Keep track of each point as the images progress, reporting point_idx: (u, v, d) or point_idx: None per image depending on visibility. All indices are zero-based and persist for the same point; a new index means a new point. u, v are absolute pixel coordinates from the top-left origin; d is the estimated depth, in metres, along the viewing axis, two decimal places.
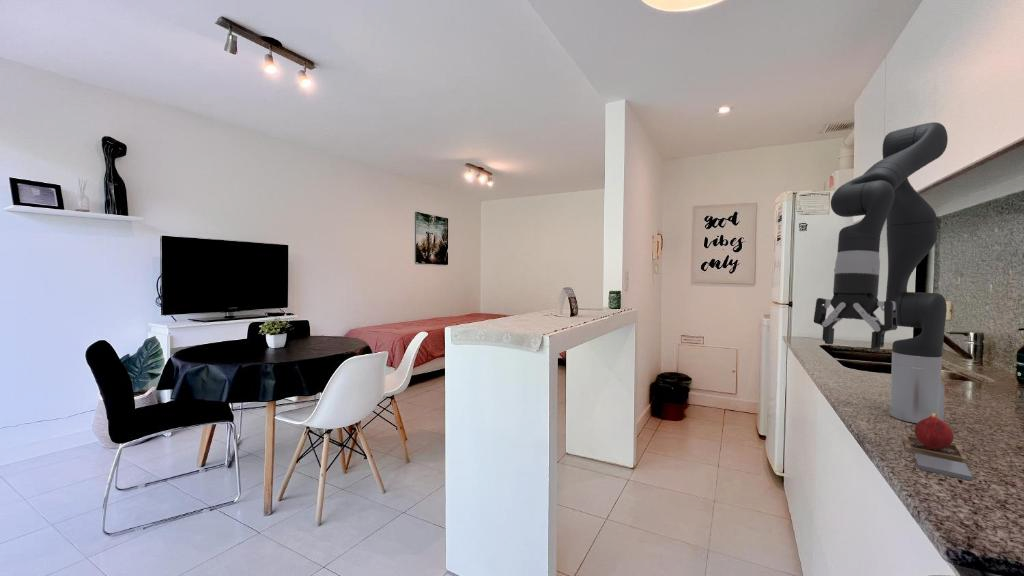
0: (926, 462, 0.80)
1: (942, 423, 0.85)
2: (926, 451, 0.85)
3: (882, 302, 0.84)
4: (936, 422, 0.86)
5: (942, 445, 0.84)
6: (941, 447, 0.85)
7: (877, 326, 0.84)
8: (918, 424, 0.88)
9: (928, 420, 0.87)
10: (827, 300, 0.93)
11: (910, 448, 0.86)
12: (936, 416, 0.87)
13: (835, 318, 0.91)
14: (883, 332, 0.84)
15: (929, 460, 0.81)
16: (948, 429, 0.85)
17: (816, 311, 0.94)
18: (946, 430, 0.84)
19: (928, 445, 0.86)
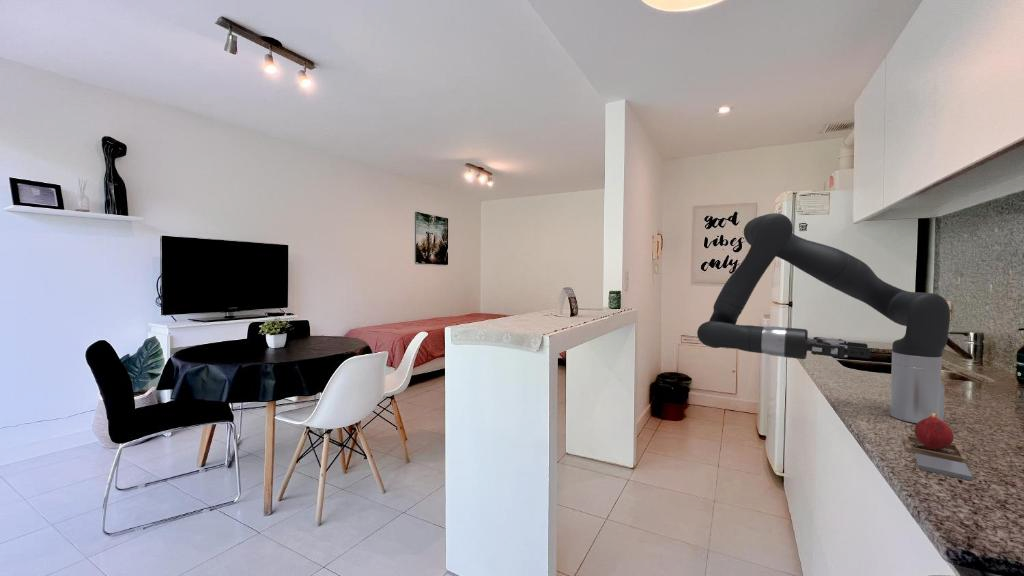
0: (926, 462, 0.80)
1: (942, 423, 0.85)
2: (926, 451, 0.85)
3: None
4: (936, 422, 0.86)
5: (942, 445, 0.84)
6: (941, 447, 0.85)
7: None
8: (918, 424, 0.88)
9: (928, 420, 0.87)
10: None
11: (910, 448, 0.86)
12: (936, 416, 0.87)
13: None
14: (848, 352, 0.91)
15: (929, 460, 0.81)
16: (948, 429, 0.85)
17: None
18: (946, 430, 0.84)
19: (928, 445, 0.86)
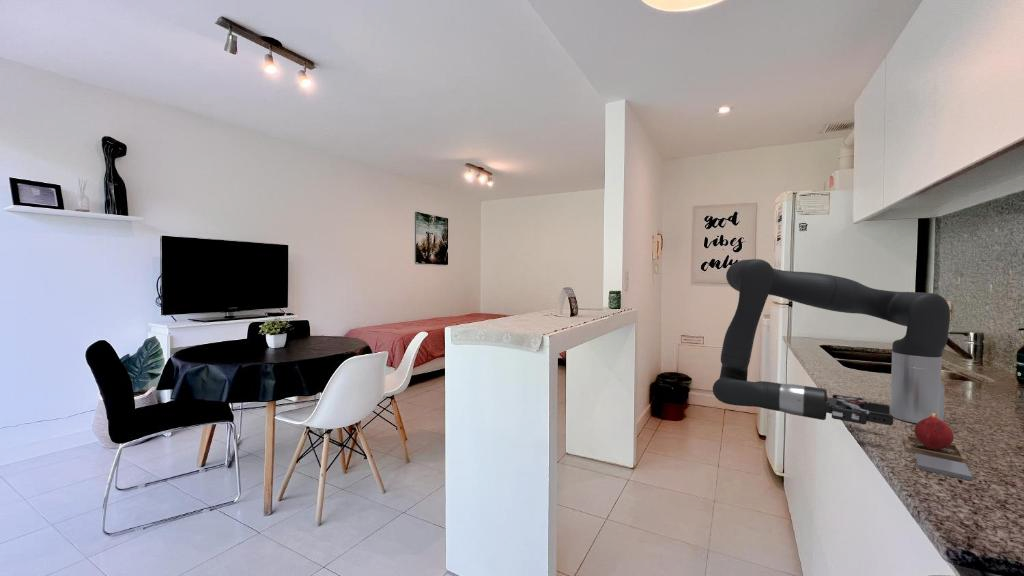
0: (926, 462, 0.80)
1: (942, 423, 0.85)
2: (926, 451, 0.85)
3: None
4: (936, 422, 0.86)
5: (942, 445, 0.84)
6: (941, 447, 0.85)
7: None
8: (918, 424, 0.88)
9: (928, 420, 0.87)
10: None
11: (910, 448, 0.86)
12: (936, 416, 0.87)
13: None
14: (870, 418, 0.89)
15: (929, 460, 0.81)
16: (948, 429, 0.85)
17: None
18: (946, 430, 0.84)
19: (928, 445, 0.86)
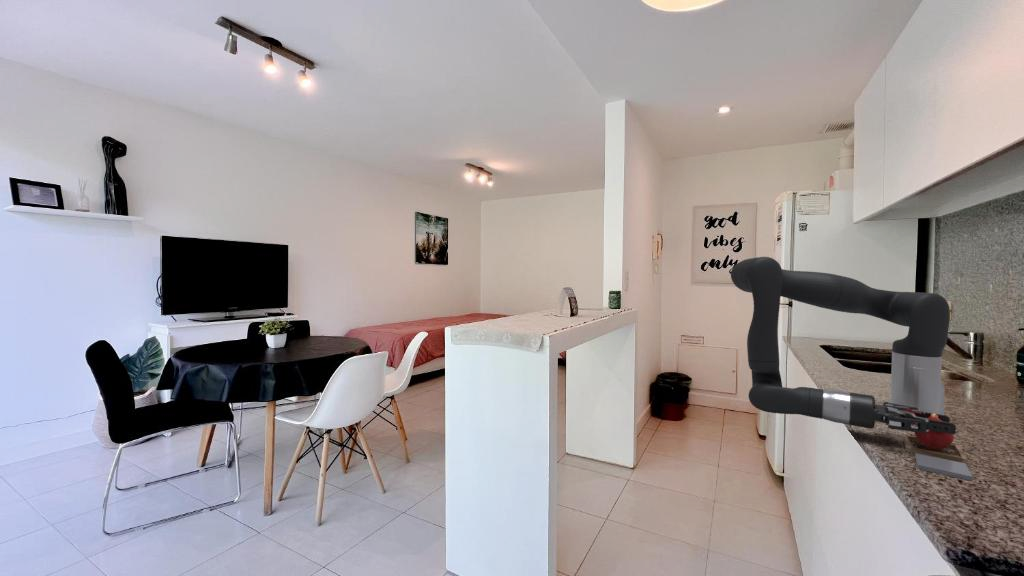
0: (926, 462, 0.80)
1: None
2: (926, 451, 0.85)
3: None
4: None
5: (942, 445, 0.84)
6: (941, 447, 0.85)
7: None
8: None
9: None
10: None
11: (910, 448, 0.86)
12: (936, 416, 0.86)
13: None
14: (930, 426, 0.84)
15: (929, 460, 0.81)
16: None
17: None
18: None
19: (928, 445, 0.86)
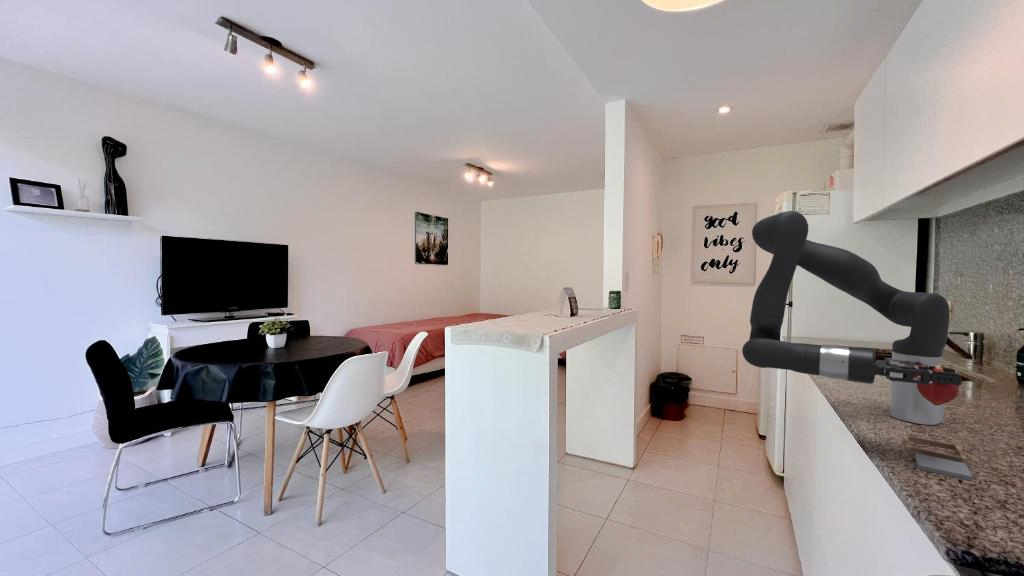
0: (926, 462, 0.80)
1: None
2: (926, 451, 0.85)
3: None
4: None
5: (946, 398, 0.79)
6: (945, 400, 0.79)
7: None
8: None
9: None
10: None
11: (910, 448, 0.86)
12: (941, 368, 0.81)
13: None
14: (933, 377, 0.79)
15: (929, 460, 0.81)
16: None
17: None
18: None
19: (931, 399, 0.81)
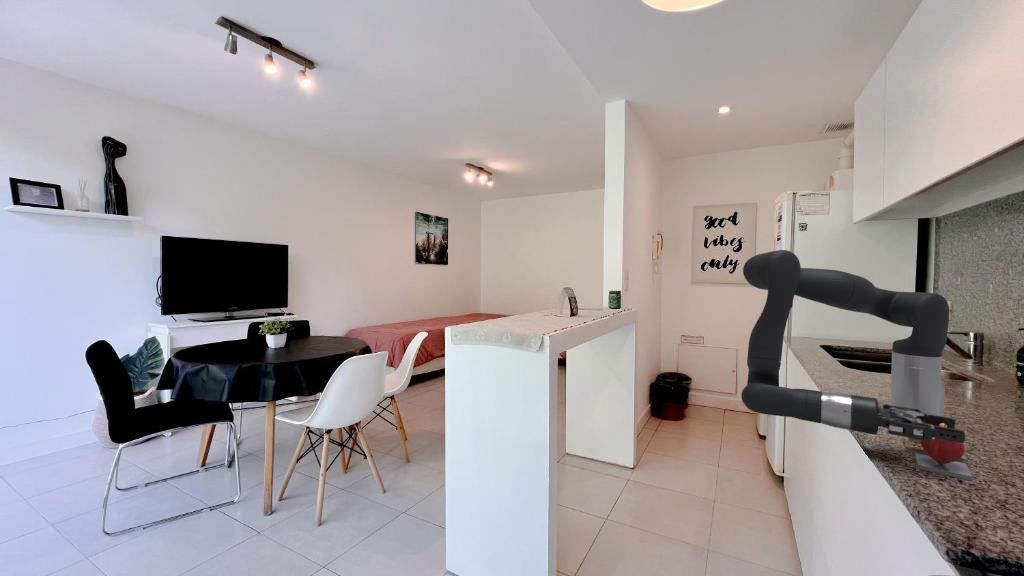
0: (926, 462, 0.80)
1: None
2: None
3: None
4: None
5: (952, 458, 0.76)
6: (950, 461, 0.77)
7: None
8: None
9: None
10: None
11: (910, 448, 0.86)
12: (945, 426, 0.78)
13: None
14: (936, 433, 0.76)
15: (929, 460, 0.81)
16: None
17: None
18: (956, 442, 0.76)
19: (936, 458, 0.78)
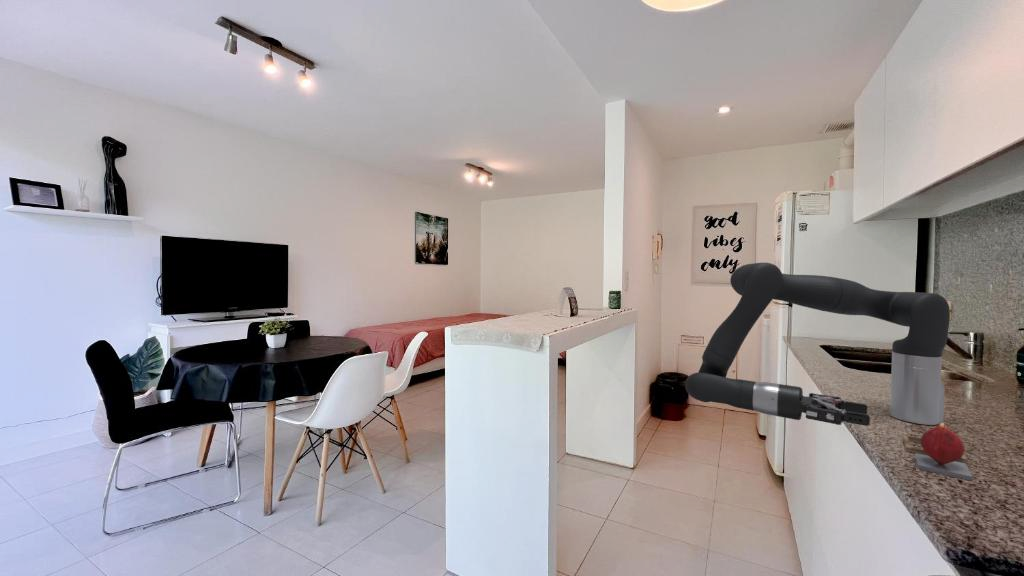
0: (926, 462, 0.80)
1: (951, 434, 0.77)
2: None
3: None
4: (945, 432, 0.78)
5: (951, 458, 0.77)
6: (950, 460, 0.77)
7: None
8: (925, 435, 0.80)
9: (935, 431, 0.79)
10: None
11: (910, 448, 0.86)
12: (945, 426, 0.79)
13: None
14: (845, 418, 0.84)
15: (929, 460, 0.81)
16: (958, 440, 0.77)
17: None
18: (956, 442, 0.76)
19: (936, 458, 0.78)
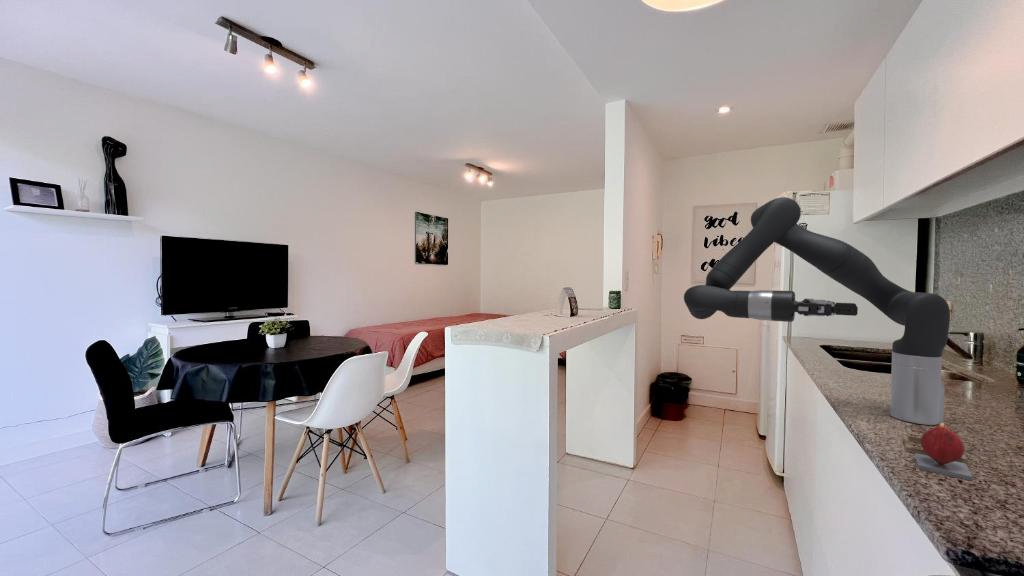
0: (926, 462, 0.80)
1: (951, 434, 0.77)
2: None
3: None
4: (945, 432, 0.78)
5: (951, 458, 0.77)
6: (950, 460, 0.77)
7: None
8: (925, 435, 0.80)
9: (935, 431, 0.79)
10: None
11: (910, 448, 0.86)
12: (945, 426, 0.79)
13: None
14: (835, 310, 0.89)
15: (929, 460, 0.81)
16: (958, 440, 0.77)
17: None
18: (956, 442, 0.77)
19: (936, 458, 0.78)
